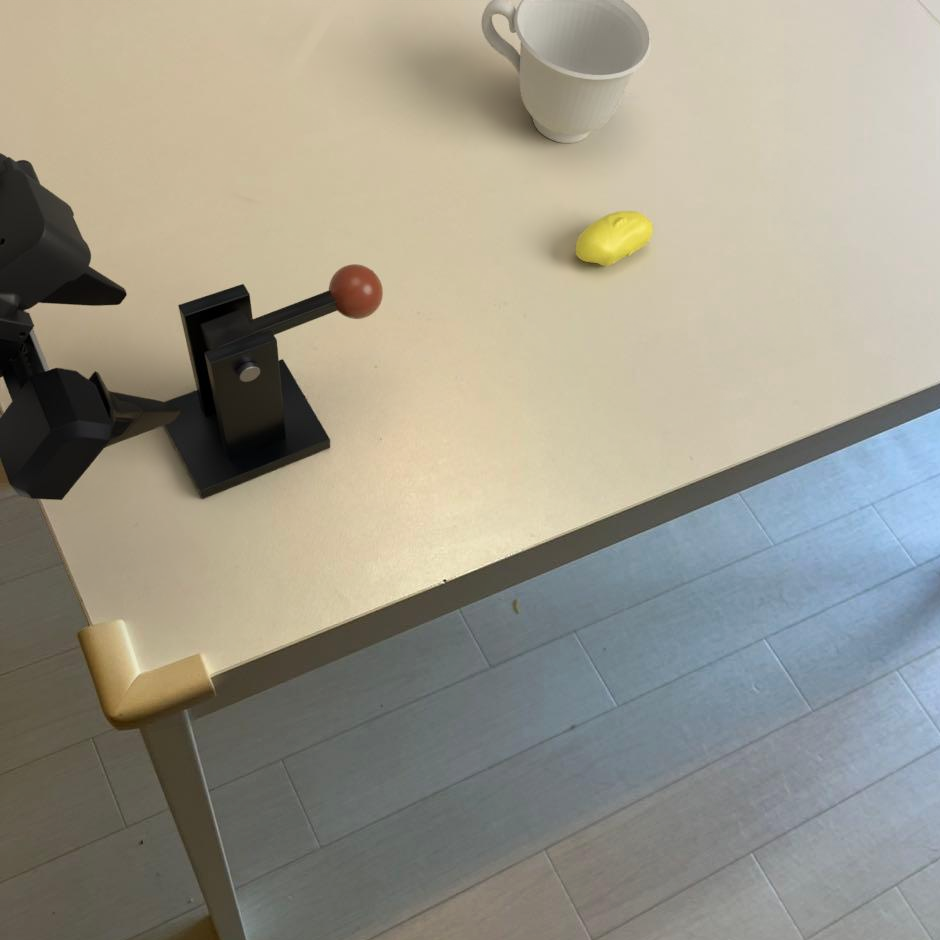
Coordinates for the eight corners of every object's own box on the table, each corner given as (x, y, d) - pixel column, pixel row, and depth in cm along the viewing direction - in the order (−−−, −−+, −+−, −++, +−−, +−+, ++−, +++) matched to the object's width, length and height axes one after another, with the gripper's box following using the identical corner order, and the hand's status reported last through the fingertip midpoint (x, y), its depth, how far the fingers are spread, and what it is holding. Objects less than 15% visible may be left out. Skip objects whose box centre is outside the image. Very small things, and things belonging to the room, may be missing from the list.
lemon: (658, 256, 91) (670, 225, 87) (583, 283, 88) (592, 251, 84) (633, 223, 92) (644, 190, 89) (558, 248, 89) (567, 215, 86)
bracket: (283, 367, 79) (273, 253, 68) (330, 448, 77) (328, 343, 65) (157, 414, 75) (124, 301, 64) (202, 499, 73) (176, 398, 62)
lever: (368, 280, 72) (366, 245, 69) (392, 318, 71) (392, 284, 67) (202, 343, 68) (193, 309, 65) (225, 384, 67) (217, 352, 64)
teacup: (491, 51, 99) (505, -46, 90) (636, 101, 99) (664, 9, 91) (452, 132, 93) (464, 36, 84) (607, 185, 94) (634, 95, 85)
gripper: (-6, 337, 41) (287, 389, 54) (-124, 33, 47) (165, 145, 60) (-116, 498, 46) (176, 511, 59) (-210, 204, 52) (74, 274, 65)
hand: (148, 354), depth 61 cm, fingers open, 9 cm apart
